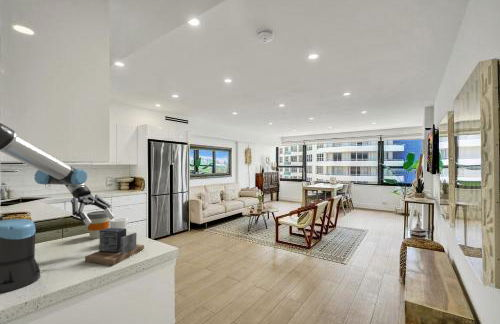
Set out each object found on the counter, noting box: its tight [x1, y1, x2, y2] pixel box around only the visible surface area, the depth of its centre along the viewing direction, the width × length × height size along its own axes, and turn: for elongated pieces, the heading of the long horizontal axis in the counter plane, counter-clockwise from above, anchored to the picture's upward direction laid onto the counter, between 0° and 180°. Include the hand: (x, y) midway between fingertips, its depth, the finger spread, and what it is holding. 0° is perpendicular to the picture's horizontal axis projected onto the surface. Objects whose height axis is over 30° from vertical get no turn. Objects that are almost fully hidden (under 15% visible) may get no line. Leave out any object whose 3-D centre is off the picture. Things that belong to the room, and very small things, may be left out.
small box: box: [98, 227, 127, 253], centre depth 116 cm, size 11×6×10 cm, turn 79°
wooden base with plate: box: [84, 232, 145, 266], centre depth 116 cm, size 20×16×10 cm
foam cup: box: [109, 217, 129, 231], centre depth 137 cm, size 10×9×13 cm
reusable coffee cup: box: [86, 210, 110, 239], centre depth 148 cm, size 12×13×15 cm
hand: (101, 221), depth 119 cm, fingers open, 13 cm apart
